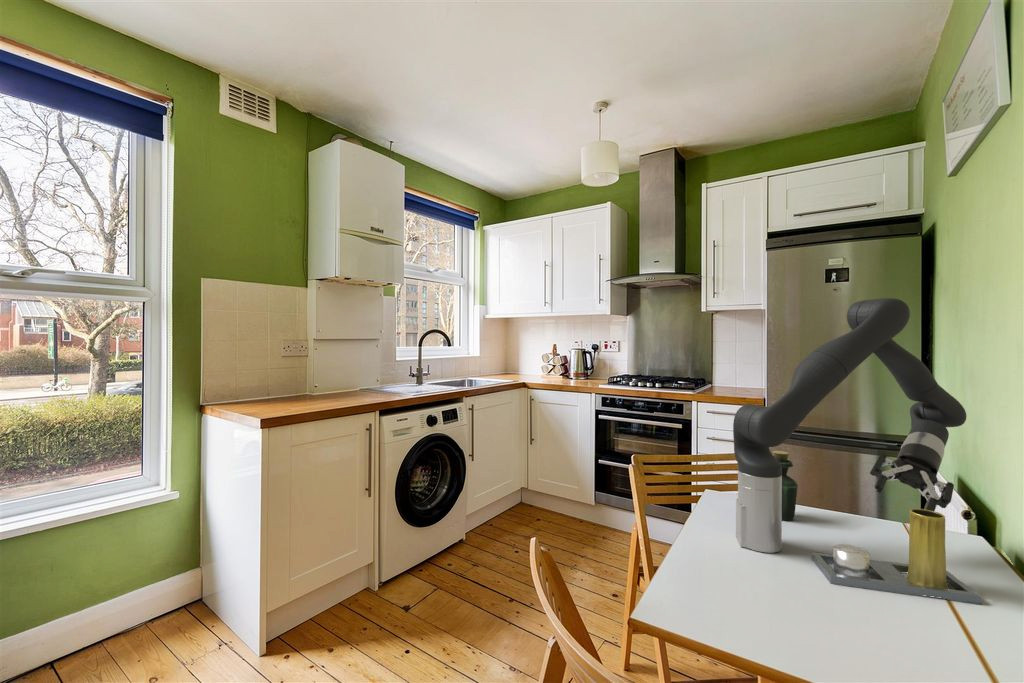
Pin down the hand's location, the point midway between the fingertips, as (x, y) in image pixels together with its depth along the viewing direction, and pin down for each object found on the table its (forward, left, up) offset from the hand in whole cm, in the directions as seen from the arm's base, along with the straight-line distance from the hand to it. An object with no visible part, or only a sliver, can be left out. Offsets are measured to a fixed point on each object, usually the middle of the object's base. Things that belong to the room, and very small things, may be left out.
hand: (902, 501), depth 101 cm
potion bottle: (-19, +20, -13) cm, 31 cm away
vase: (-1, -12, -13) cm, 18 cm away
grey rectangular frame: (-8, -12, -13) cm, 19 cm away
